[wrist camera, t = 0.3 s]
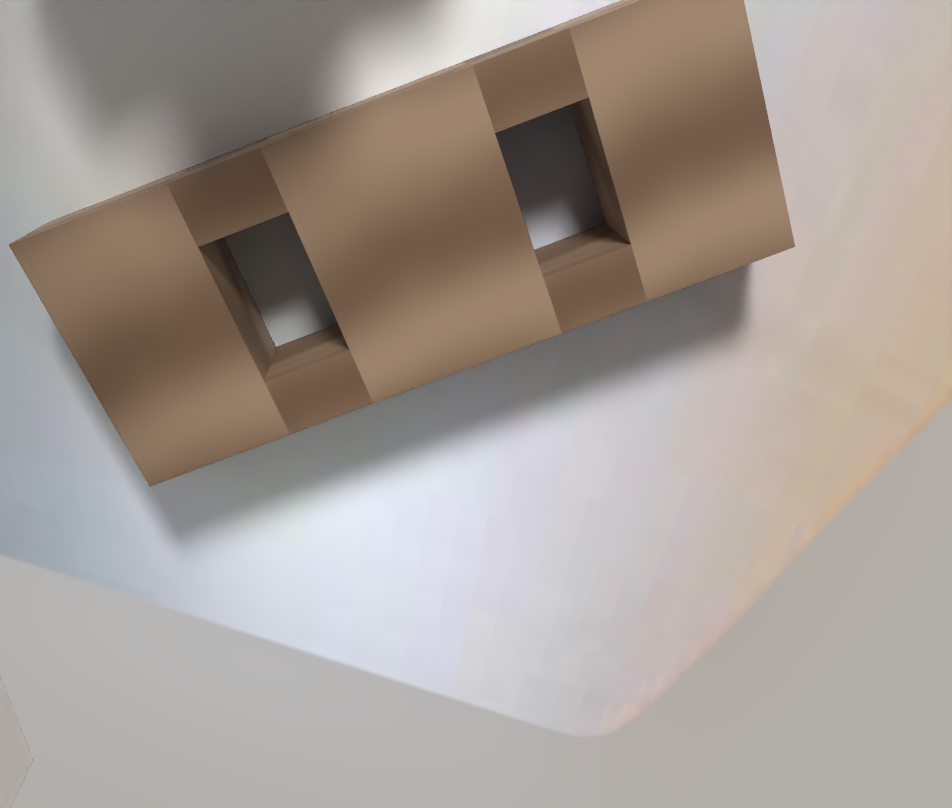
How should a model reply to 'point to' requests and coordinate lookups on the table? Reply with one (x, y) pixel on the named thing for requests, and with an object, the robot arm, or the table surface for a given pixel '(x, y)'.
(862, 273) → the table surface
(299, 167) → the slotted wooden block
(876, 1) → the table surface
